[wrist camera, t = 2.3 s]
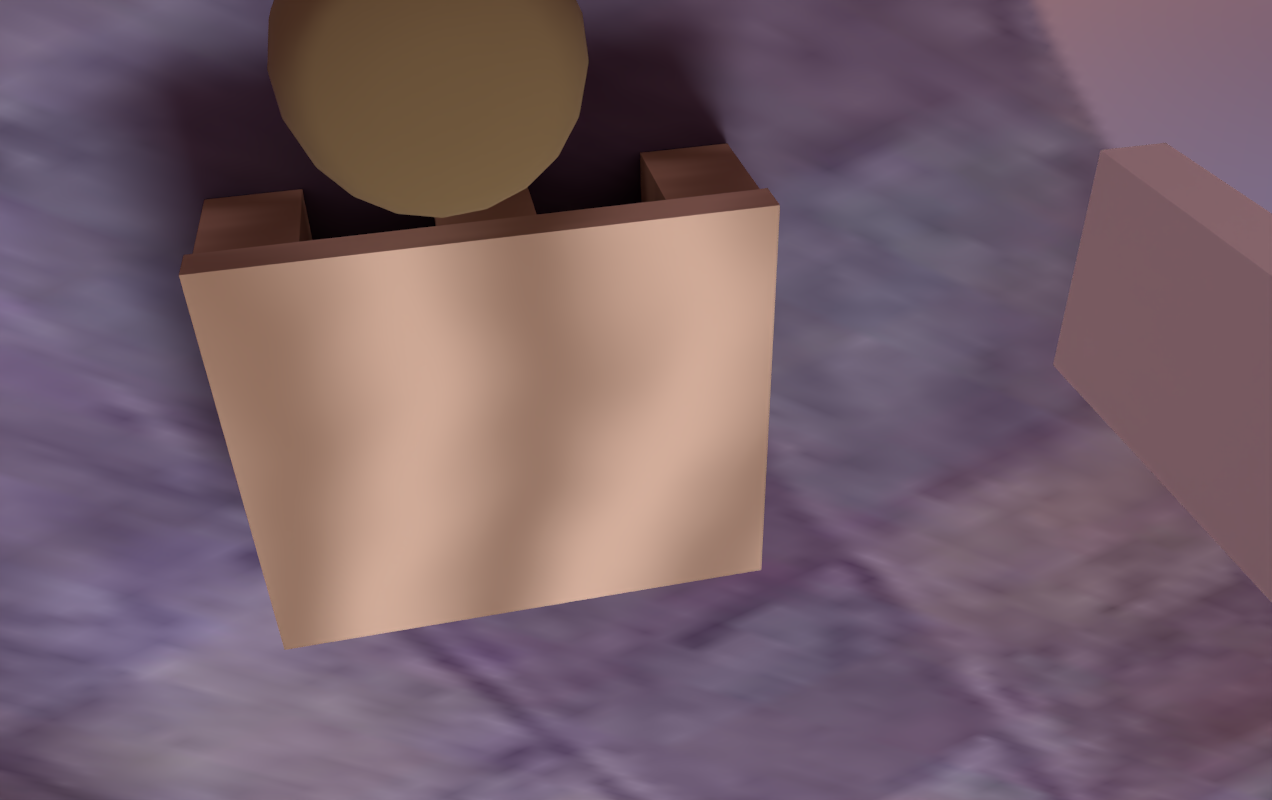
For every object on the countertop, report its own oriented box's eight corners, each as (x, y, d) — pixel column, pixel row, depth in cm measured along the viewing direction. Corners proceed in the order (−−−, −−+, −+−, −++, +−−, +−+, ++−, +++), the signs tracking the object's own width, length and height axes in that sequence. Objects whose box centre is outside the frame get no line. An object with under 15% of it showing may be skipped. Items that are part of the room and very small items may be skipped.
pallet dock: (289, 555, 36) (284, 649, 33) (195, 200, 29) (178, 275, 26) (725, 487, 38) (761, 569, 35) (734, 142, 31) (780, 205, 28)
